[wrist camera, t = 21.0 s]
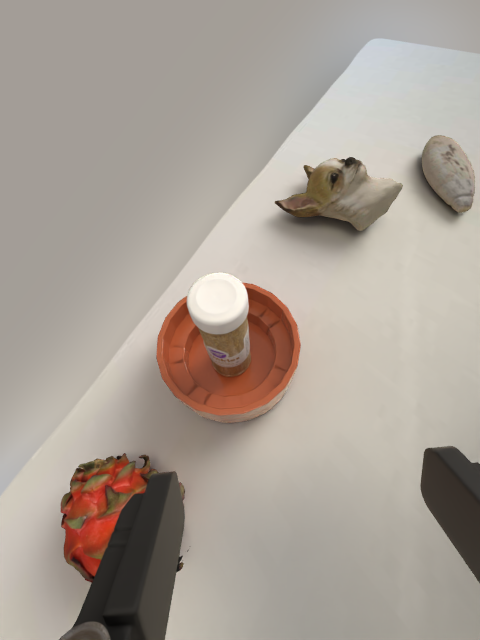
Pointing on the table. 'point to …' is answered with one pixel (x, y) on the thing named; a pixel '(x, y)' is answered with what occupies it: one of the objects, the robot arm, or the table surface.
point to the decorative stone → (449, 172)
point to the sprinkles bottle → (222, 321)
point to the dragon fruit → (99, 508)
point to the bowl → (239, 391)
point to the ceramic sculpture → (343, 193)
